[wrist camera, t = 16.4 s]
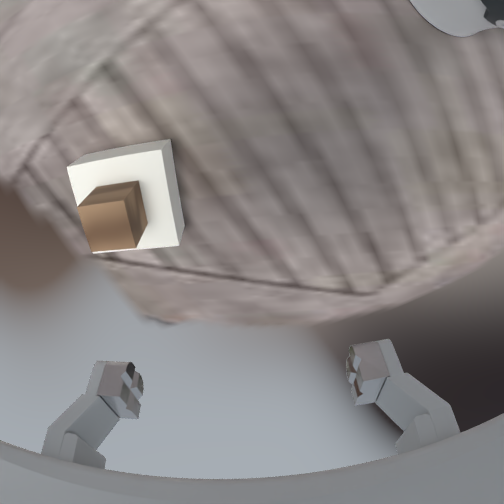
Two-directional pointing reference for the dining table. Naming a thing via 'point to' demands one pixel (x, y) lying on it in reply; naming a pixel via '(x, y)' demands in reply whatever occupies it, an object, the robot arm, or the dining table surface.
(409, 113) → the dining table surface
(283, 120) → the dining table surface
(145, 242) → the base block
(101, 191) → the walnut cube
